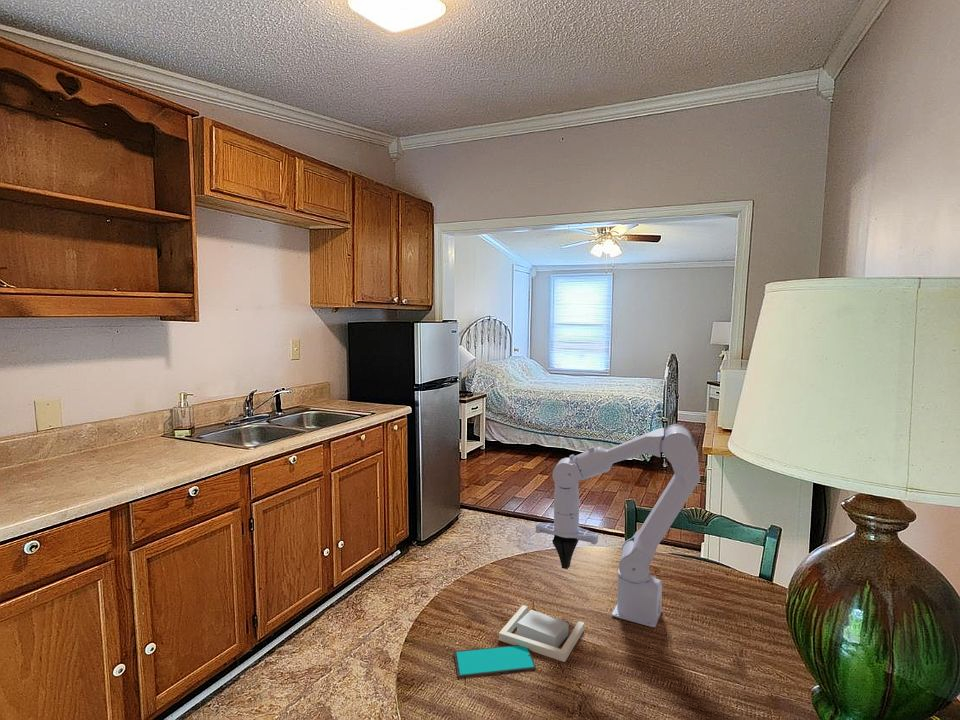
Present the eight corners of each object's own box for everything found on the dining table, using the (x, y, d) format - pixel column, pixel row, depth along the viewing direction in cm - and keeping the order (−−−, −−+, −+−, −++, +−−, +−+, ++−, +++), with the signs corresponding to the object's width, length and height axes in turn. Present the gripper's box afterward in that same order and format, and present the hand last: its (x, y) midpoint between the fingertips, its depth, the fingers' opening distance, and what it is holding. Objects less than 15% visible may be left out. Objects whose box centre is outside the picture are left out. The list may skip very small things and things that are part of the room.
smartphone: (453, 651, 106) (526, 643, 108) (453, 655, 106) (526, 647, 108) (457, 676, 99) (536, 667, 101) (457, 680, 99) (536, 671, 101)
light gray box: (568, 636, 112) (568, 623, 112) (555, 651, 107) (555, 637, 107) (531, 622, 117) (531, 609, 117) (517, 636, 112) (517, 622, 112)
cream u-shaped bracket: (584, 629, 114) (584, 622, 113) (564, 662, 103) (564, 654, 103) (522, 611, 121) (522, 604, 120) (498, 640, 110) (498, 632, 110)
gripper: (602, 510, 123) (601, 566, 124) (543, 500, 130) (543, 553, 131) (593, 520, 117) (592, 579, 118) (532, 509, 124) (532, 565, 125)
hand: (565, 567), depth 124 cm, fingers closed
